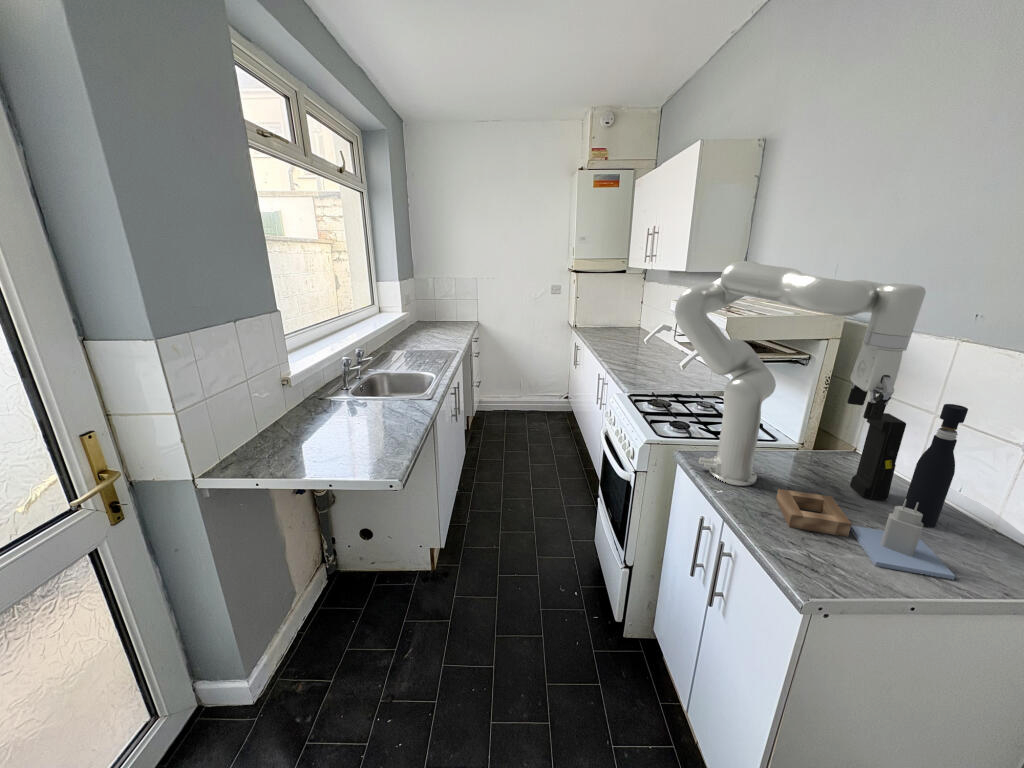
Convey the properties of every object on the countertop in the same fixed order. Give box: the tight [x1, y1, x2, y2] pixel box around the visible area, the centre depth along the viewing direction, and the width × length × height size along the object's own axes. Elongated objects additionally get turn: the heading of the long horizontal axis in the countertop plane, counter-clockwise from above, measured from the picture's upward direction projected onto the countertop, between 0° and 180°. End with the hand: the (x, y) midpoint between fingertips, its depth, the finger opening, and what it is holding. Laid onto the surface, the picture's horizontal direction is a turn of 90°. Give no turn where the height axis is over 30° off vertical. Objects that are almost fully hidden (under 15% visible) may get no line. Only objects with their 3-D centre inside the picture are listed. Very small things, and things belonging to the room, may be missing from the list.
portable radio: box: [849, 412, 907, 501], centre depth 109 cm, size 8×6×25 cm
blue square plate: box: [849, 525, 956, 581], centre depth 91 cm, size 13×13×1 cm
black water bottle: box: [905, 403, 969, 528], centre depth 97 cm, size 6×6×30 cm
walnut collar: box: [775, 488, 852, 538], centre depth 103 cm, size 12×12×4 cm
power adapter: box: [881, 498, 924, 556], centre depth 89 cm, size 3×5×12 cm, turn 44°
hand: (863, 411), depth 97 cm, fingers open, 9 cm apart
